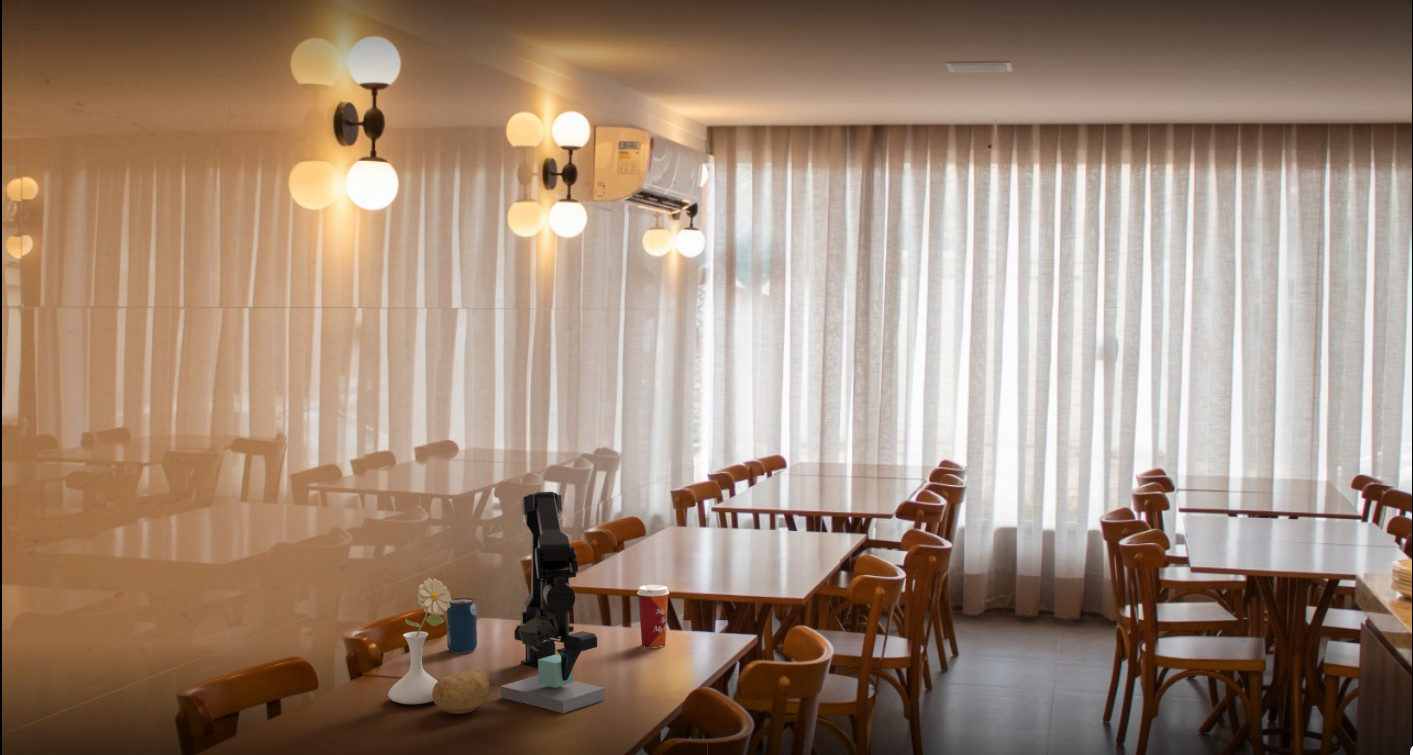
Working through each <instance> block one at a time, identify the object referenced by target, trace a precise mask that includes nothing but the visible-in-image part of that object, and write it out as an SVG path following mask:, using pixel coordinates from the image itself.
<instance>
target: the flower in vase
mask: <svg viewBox="0 0 1413 755" xmlns="http://www.w3.org/2000/svg"><path fill="white" fill-rule="evenodd" d="M417 592H418V594H417V600H418V601H417V603H418V605H420V607H421V608H422V609H423V610H424V612H425V615H424V618H423V620H422V622H421V624H420V623H418V622H415V621H414V622H413V621H412V620H409V619H407V618H405V623H406V624H407V625H408V626H411V627H416V628H418V630H417V631H410V632H409V631H408V632H406V633H404V634H403V635H402V636H403V638H404V639H405V640H406V642H407V645H408V648H409V653H410V656H409V657H410V665H409V670H408V671H407V673H405V675H404V676H403V677H401V678H400V679H399V680H398V681H397V682H396V683H395V684H394V685H392V687H391V688H390V689H389V691H388V694H387V696H388V698H389V699H390V700H391V701H393V702H396V703H399V704H402V705H420V704H426V703H432V702H434V700H433V697H432V691H433V687H434V686H435V684H436V683H437V682H438V681H439V680H437V679H436V678H434V677H433V676H431V675H430V674H429V673H427V671H425V670H424V667H423V659H422V656H423V648H424V643H425V641H426V639H427V637H428V635H429V633H428V632H427V631H421V630H422V627H423V625H424V624H425V622H427V623H428V624H429V625H430V626H432V627H436V626H440V625H442V624H443V623H444V622H445V619H444V618H443V617H442V616H441V615H443V614H444V612H447V609H448V608H450V603H449V602H451V601H452V598H451V593H450V590H448V587H447V586H444V583H443V581H441V580H437V578H433V579H431V578H427V580H424V581H423V583H420V585H419V586H418V589H417ZM428 614H429V615H428Z"/></svg>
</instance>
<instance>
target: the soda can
mask: <svg viewBox="0 0 1413 755" xmlns="http://www.w3.org/2000/svg"><path fill="white" fill-rule="evenodd" d="M451 599H452V598H451ZM449 603H450V608H448V609H447V611H446V639H447V640H446V641H447V644H446V645H447V648H448V650H449V652H450V653H452V654H458V655H459V654H462V655H463V654H469V653H473V652H474V651H475V650H476V648H477V646H478V624H477V623H478V620H477V618H478V616H477V615H478V614H477V605H476V604H475V600H474V598H470V597H457V598H453V599H452V601H451V602H449Z"/></svg>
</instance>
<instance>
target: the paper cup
mask: <svg viewBox="0 0 1413 755" xmlns="http://www.w3.org/2000/svg"><path fill="white" fill-rule="evenodd" d="M669 594H670V591H669V588H668V586H665V585H663V584H662V585H661V584H647V585H646V584H645V585H641V586H639V587H638V590H637V593H636V595H638V605H639V606H638V607H639V608H638V609H639V621H640V622H639V623H640V624H639V626H640V638H641V639H640V640H641V647H643V646H645V647H660V646H664V645H665V646H666V642H667V641H666V639H667V620H668V604H669V603H668V602H669V601H668V600H669V599H668V598H669ZM665 646H664V647H665ZM645 647H644V648H645Z"/></svg>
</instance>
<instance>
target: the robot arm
mask: <svg viewBox="0 0 1413 755" xmlns="http://www.w3.org/2000/svg"><path fill="white" fill-rule="evenodd" d="M562 512H563V504H562V495H561V494H558V493H557V492H554V491H537V492H535V493H527V494H526V496H523V497H522V499H521V514H522V516H524V520H525V523H526V526H527V528H528V529H529V531H530V532H531V557H530V558H531V562H530V563H531V570H530V571H531V572H530V573H531V575H530V577H531V580H530V581H531V582H530V583H531V584H530V586H531V587H530V589H531V590H530V591H531V592H530V593H529V594H528V596H527V597H526V599H525V601H524V603H523V605H524V606H523V607H524V608H523V611H521V616H520V624H518V625H517V626H516V628H515V629H514V640H516V641H521V643H522V645H525V659H522V660H520V664H524V665H528V666H532V667H537V668H538V659H542V658H545V657H549V656H552V655H556V653H557V654H558V655H560V656H561V668H562V678H563V681H566V680H568V678H569V675H570V673H571V671H572V669H573V670H574V667H575V664H576V662H577V660H578V658H579V657H580V654H581V652H585V651H589V650H591V649H595V648H598V637H597V635H596V633H593V632H589V631H583V630H581V631H577V632H574V628H575V627H574V626H573V625H570V613H573V612H574V605H575V603H576V602H575V601H576V594H575V592H574V590H573V588H572V587H571V585H570V580H569V578H577V573H578V572H579V566H578V559H577V558H578V556H577V552H576V551H575V548H574V546H572V545H571V543H570V539H569V536H568V535H566V534H565V533H563V532H562V530H561V524H560V518H559V515H560V514H561V513H562ZM572 632H574V633H572ZM555 642H558V643H562V644H563V645H562V648H557V649H556V643H555Z"/></svg>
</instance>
